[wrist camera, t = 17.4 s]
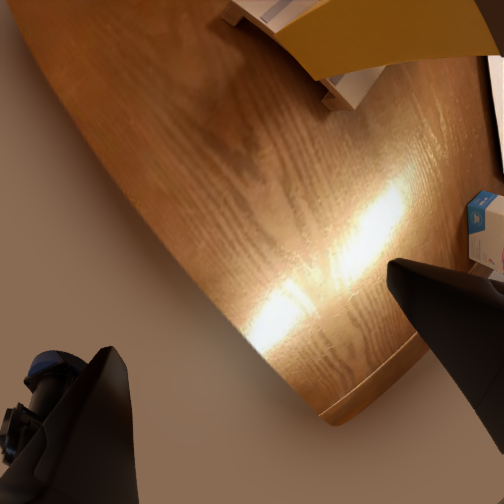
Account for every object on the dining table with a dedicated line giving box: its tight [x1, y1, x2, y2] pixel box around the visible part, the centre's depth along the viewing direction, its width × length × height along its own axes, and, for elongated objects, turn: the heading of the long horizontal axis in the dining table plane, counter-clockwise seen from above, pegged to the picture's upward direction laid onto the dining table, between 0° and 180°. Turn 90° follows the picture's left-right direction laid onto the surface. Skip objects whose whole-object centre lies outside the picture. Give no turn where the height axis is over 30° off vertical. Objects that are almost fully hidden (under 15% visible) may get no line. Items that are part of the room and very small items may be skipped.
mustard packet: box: [273, 0, 504, 81], centre depth 9 cm, size 7×4×14 cm, turn 137°
